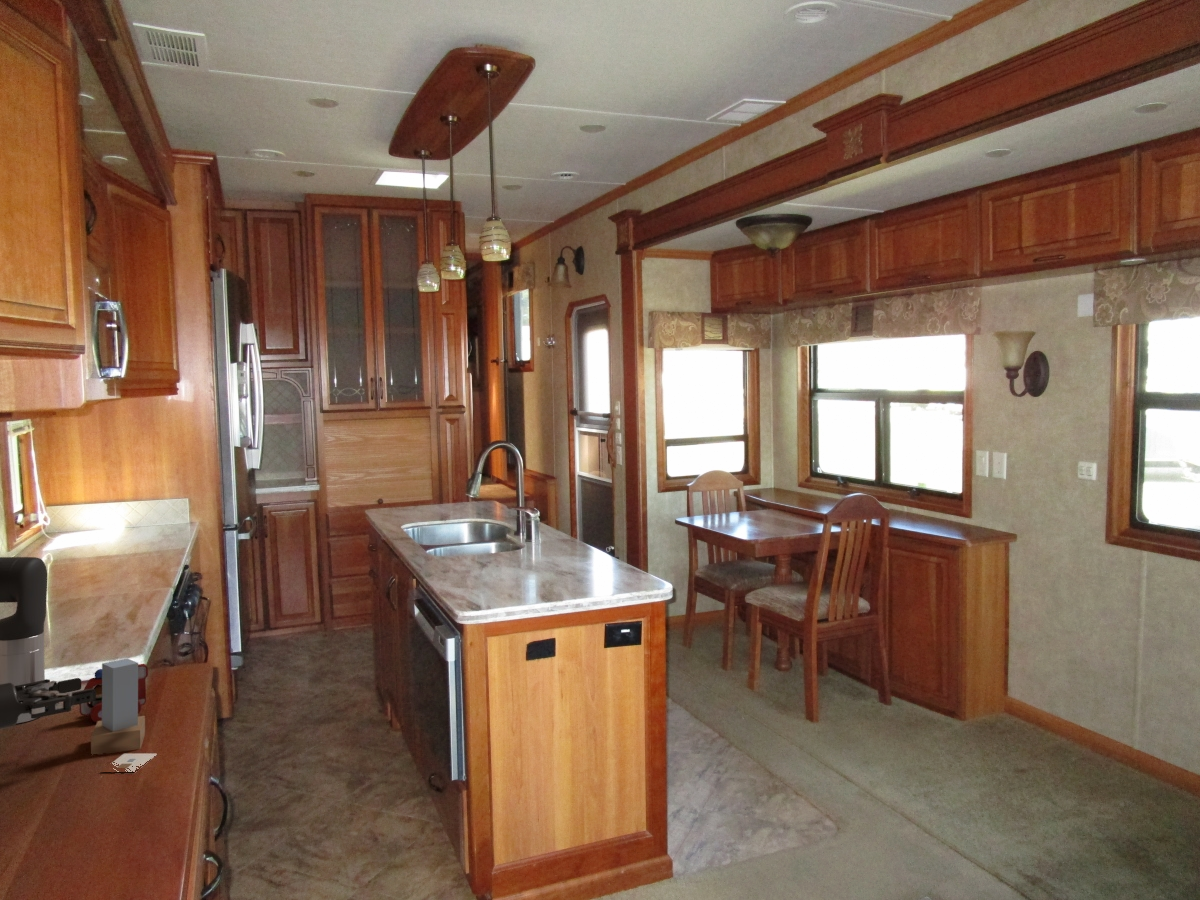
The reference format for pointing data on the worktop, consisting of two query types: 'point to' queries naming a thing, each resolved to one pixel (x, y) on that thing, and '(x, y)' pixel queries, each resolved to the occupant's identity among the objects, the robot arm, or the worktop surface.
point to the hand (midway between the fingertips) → (87, 688)
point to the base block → (117, 738)
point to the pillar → (119, 694)
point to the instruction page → (132, 761)
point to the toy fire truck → (96, 683)
